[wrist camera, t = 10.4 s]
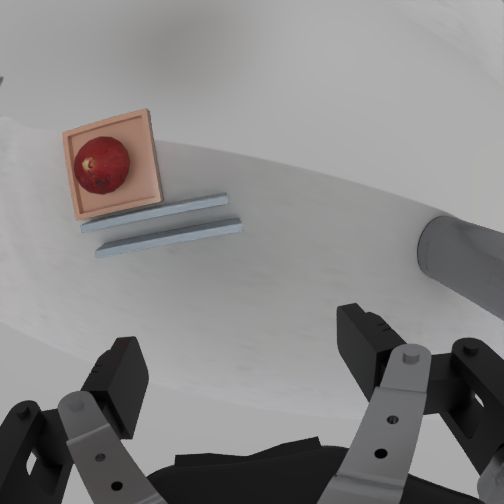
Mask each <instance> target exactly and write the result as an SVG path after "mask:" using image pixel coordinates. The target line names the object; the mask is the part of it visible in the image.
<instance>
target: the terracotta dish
mask: <svg viewBox="0 0 504 504" xmlns="http://www.w3.org/2000/svg"><path fill="white" fill-rule="evenodd" d="M62 135H63V144H64V152H65V159H66V166H67V172H68V178H69V184H70V190H71V195H72V201H73V206H74V211H75V215H76V220H77V221H78V220H82V219H86V218H90V217H94V216H98V215H102V214H107V213H111V212H115V211H120V210H124V209H129V208H133V207H138V206H142V205H147V204H152V203H157V202H161V201H163V200H164V199H163V193H162V188H161V182H160V176H159V170H158V164H157V158H156V152H155V145H154V138H153V132H152V124H151V117H150V111H149V110H148V109H142V110H138V111H134V112H130V113H126V114H123V115H119V116H115V117H111V118H108V119H104V120H101V121H97V122H94V123H91V124H88V125H85V126H82V127H78V128H75V129H72V130H69V131H66V132H63V133H62ZM100 136H106V137H113V138H114V139H116V140H118V141H120V142H121V143H122V144H123V146H124V147H125V148H126V150H127V151H128V155H129V159H130V165H129V172H128V175H127V177H126V179H125V182H124V183H123V184H122V185H121V186H120V187H119V188H117V189H116V190H115V191H114V192H111V193H107V194H104V195H100V194H94V193H89V192H88V191H86V190H85V189H84V188H82V187H81V186H80V184H79V183H78V181H77V179H76V178H75V173H74V162H75V157H76V155H77V153H78V151H79V150H80V148H81V147H82V146H83V145H85V144H86V143H87V142H88V141H89V140H92V139H94V138H97V137H100Z"/></svg>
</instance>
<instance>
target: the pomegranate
mask: <svg viewBox="0 0 504 504" xmlns="http://www.w3.org/2000/svg"><path fill="white" fill-rule="evenodd" d="M129 165H130V159H129V155H128V151H127V150H126V148H125V147H124V146H123V144H122V143H121V142H120V141H118V140H116V139H114V138H113V137H106V136H100V137H97V138H94V139H92V140H89V141H88V142H87V143H86V144H85V145H83V146H82V147H81V148H80V150H79V151H78V153H77V155H76V157H75V162H74V173H75V178H76V179H77V181H78V183H79V184H80V186H81V187H82V188H84V189H85V190H86V191H88V192H89V193H94V194H100V195H104V194H107V193H111V192H114V191H115V190H116V189H117V188H119V187H120V186H121V185H122V184H123V183H124V182H125V179H126V177H127V175H128V172H129Z"/></svg>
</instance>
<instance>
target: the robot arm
mask: <svg viewBox="0 0 504 504" xmlns="http://www.w3.org/2000/svg"><path fill="white" fill-rule="evenodd" d="M418 261H419V265H420V267H421V269H422V271H423V272H424V273H425V274H426V275H428V276H429V277H431V278H433V279H434V280H436V281H438V282H440V283H441V284H443V285H445V286H446V287H448V288H450V289H452V290H453V291H455V292H457V293H458V294H460V295H462V296H463V297H465V298H467V299H469V300H470V301H472V302H474V303H475V304H477V305H479V306H480V307H482V308H483V309H485V310H487V311H488V312H490V313H492V314H493V315H495V316H497V317H498V318H500V319H501V320H503V321H504V233H501V232H498V231H495V230H492V229H488V228H485V227H482V226H478V225H476V224H472V223H469V222H466V221H462V220H459V219H455V218H452V217H447V216H441V217H438V218H436V219H434V220H433V221H431V222H430V223H429V224H428V226H427V227H426V228H425V230H424V232H423V233H422V236H421V238H420V242H419V246H418ZM337 345H338V350H339V353H340V355H341V357H342V358H343V360H344V362H345V363H346V365H347V367H348V368H349V370H350V372H351V373H352V375H353V377H354V378H355V380H356V382H357V383H358V385H359V387H360V388H361V390H362V392H363V393H364V395H365V397H366V398H367V400H368V402H369V405H368V408H367V410H366V412H365V415H364V417H363V419H362V422H361V424H360V426H359V429H358V431H357V433H356V436H355V437H354V440H353V442H352V444H351V446H350V448H344V447H339V446H321V444H320V441H319V438H318V436H317V437H313V438H308V439H304V440H299V441H294V442H288V443H283V444H280V445H278V446H275V447H272V448H270V449H267V450H264V451H261V452H258V453H256V454H253V455H249V456H234V455H223V454H213V453H205V454H187V455H175V464H174V465H172V466H168V467H165V468H162V469H160V470H158V471H156V472H154V473H152V474H150V475H148V476H147V477H145V475H144V474H143V473H142V471H141V470H140V469H139V467H138V466H137V464H136V463H135V462H134V460H133V459H132V457H131V456H130V454H129V453H128V452H127V450H126V449H125V447H124V446H123V444H122V443H121V441H120V440H121V439H133V435H134V431H135V427H136V424H137V420H138V417H139V413H140V409H141V406H142V402H143V399H144V396H145V392H146V389H147V385H148V381H149V375H148V369H147V366H146V363H145V360H144V358H143V355H142V352H141V349H140V346H139V343H138V340H137V338H136V337H135V336H132V337H120V338H117V339H116V340H115V342H114V344H113V346H112V347H111V349H110V350H107V351H106V352H105V353H103V354H102V355H101V356H100V357H99V358H98V360H97V362H96V363H95V367H93V369H92V370H91V373H90V374H89V376H88V378H87V379H86V381H85V383H84V385H83V387H82V388H81V390H80V391H76V392H72V393H70V394H68V395H66V396H65V397H63V398H62V399H61V401H60V402H59V404H58V408H57V409H52V410H47V411H41V409H40V407H39V406H38V404H37V403H36V402H35V401H30V400H28V401H23V402H20V403H18V404H16V405H15V406H14V407H13V408H12V409H11V410H10V411H9V413H8V415H7V416H6V418H5V420H4V421H3V423H2V424H1V426H0V504H61V503H62V499H63V495H64V492H65V489H66V485H67V482H68V479H69V475H70V472H71V469H72V466H73V464H75V465H76V467H77V470H78V472H79V474H80V476H81V478H82V481H83V483H84V485H85V487H86V489H87V491H88V493H89V495H90V497H91V499H92V501H93V503H94V504H504V360H503V359H502V358H501V357H500V356H499V355H498V354H497V353H496V352H494V351H493V350H492V349H491V348H490V347H489V346H488V345H486V344H485V343H484V342H483V341H481V340H479V339H475V338H462V339H459V340H457V341H456V342H454V344H453V346H452V351H451V353H446V354H437V355H431V353H430V351H429V350H428V349H427V348H426V347H424V346H421V345H418V344H407V343H406V342H405V341H404V340H403V339H402V338H401V337H400V336H399V335H398V334H397V333H396V332H395V331H394V330H393V329H391V327H390V326H389V325H388V324H386V322H385V321H384V320H383V319H382V318H381V317H380V316H378V315H376V314H374V313H372V312H367V313H365V312H364V311H363V310H362V308H361V307H360V306H359V305H358V304H357V303H352V304H348V305H343V306H338V307H337ZM475 394H477V395H478V397H479V398H480V399H481V400H482V402H483V405H484V407H483V406H482V405H481V404H480V403H479V402H478V400H477V399H476V398H475ZM435 413H439V414H440V416H441V417H442V419H443V420H444V422H445V423H446V424H447V426H448V427H449V429H450V430H451V432H452V433H453V435H454V436H455V438H456V439H457V441H458V442H459V444H460V445H461V447H462V448H463V450H464V452H465V453H466V455H467V456H468V458H469V459H470V461H471V462H472V464H473V466H474V467H475V469H476V470H477V472H478V473H479V475H480V478H479V480H478V483H477V491H478V494H479V499H477V498H475V497H472V496H470V495H466V494H464V493H460V492H457V491H454V490H451V489H448V488H445V487H443V486H440V485H437V484H434V483H432V482H429V481H426V480H424V479H421V478H418V477H416V476H413V475H411V474H409V473H408V472H409V469H410V465H411V462H412V458H413V455H414V451H415V447H416V443H417V439H418V435H419V430H420V426H421V422H422V417H423V415H428V414H435ZM31 451H32V453H33V454H34V455H35V456H36V458H37V459H36V462H35V464H34V467H33V469H32V471H31V474H30V475H29V474H28V472H27V468H26V464H27V460H28V458H29V456H30V453H31Z"/></svg>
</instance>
